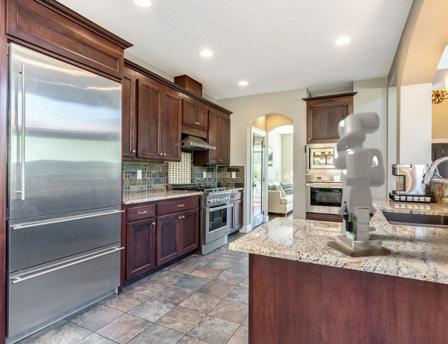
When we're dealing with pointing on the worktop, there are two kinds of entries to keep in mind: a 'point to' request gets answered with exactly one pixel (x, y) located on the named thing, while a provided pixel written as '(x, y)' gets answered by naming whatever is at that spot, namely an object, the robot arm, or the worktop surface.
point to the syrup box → (360, 224)
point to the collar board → (358, 246)
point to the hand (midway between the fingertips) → (357, 230)
